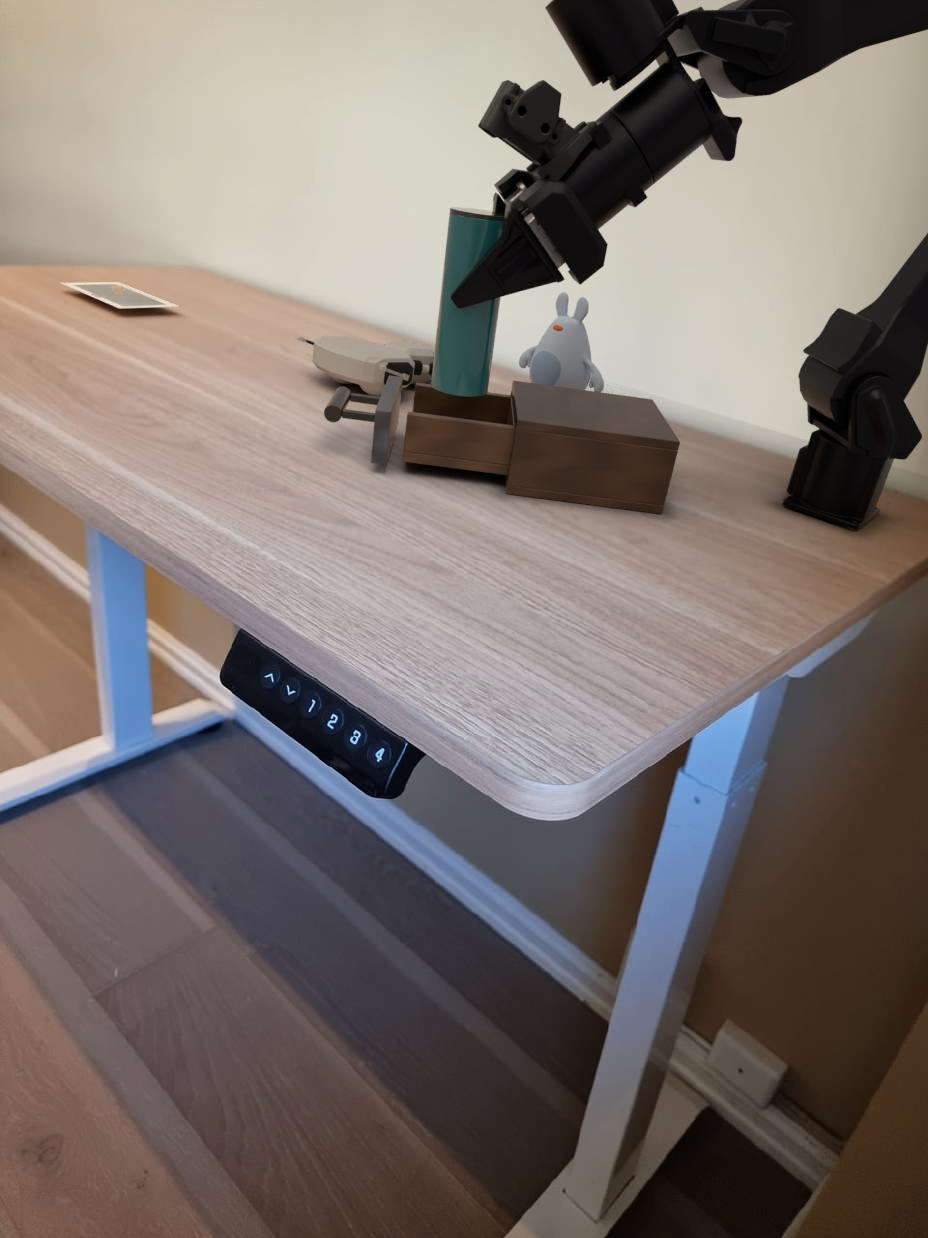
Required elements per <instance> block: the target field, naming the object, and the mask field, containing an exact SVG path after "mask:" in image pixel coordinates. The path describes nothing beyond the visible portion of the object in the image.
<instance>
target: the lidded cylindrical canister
mask: <svg viewBox="0 0 928 1238" xmlns="http://www.w3.org/2000/svg"><path fill="white" fill-rule="evenodd" d="M504 216H505V214H503V213H498V212H493V210H487V209H479V208H472V207H461V206H450V207H449V213H448V220H447V223H448V224H447V231H446V239H445V250H444V257H443V266H442V267H443V268H442V277H441V288H440V295H439V296H440V297H439V305H438V315H437V324H436V334H435V343H434V350H433V352H434V360H433V370H432V378H431V379H430V384H431V386H432V388H434V389H435V390H437V391H440V392H443V393H446V394H451V395H456V396H466V397H477V396H483V395H486V394H487V393H488V392H489V386H490V385H489V384H490V377H491V371H492V370H491V369H492V363H493V355H494V347H495V341H496V335H497V334H496V333H497V326H498V320H499V314H500V313H499V312H500V307H501V306H500V305H501V299H502V298H501V297H499V298H495V299H492V300H489V301H485V302H482V303H478V304H475V305H472V306H468V307H465V308H461V309H459V308H457V307H456V305H455V304H454V303H453V301H452V300H451V294H452V293H453V291H454V290H455V289H456V288H457V287H458V285H459V284H460V283H461V282H462V281H463V279H464V278H465V277H466V276H467V275H468V274H469V272H470V271H471V270H472V269H473V268H474V267H475V266H476V264H477V263H478V262H479V261H480V260H481V259H482V257H483V256H484V255H485V254H486V253H487V252H488V250H489V249H490V248H491V247H492V246H493V245H494V243H495V242H496V241H497V240H498V239H499V238H500V236H501V234H502V230H503V223H504Z"/></svg>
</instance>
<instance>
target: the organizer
mask: <svg viewBox="0 0 928 1238" xmlns="http://www.w3.org/2000/svg"><path fill="white" fill-rule="evenodd" d="M510 395H512V396H513V403H514V411H515V420H516V430H515V437H514V443H513V449H512V455H511V461H510V468H509V474H508V475H504V483H505V484H504V485H505V494H507V495H514V496H522V497H527V498H537V499H542V500H543V499H544V500H552V501H560V502H567V503H574V504H582V505H591V506H597V507H603V508H604V507H605V508H611V509H612V508H613V509H621V510H629V511H635V512H643V513H651V514H660V515H662V514H663V512H664V508H665V503H666V499H667V496H668V492H669V488H670V483H671V481H672V480H671V479H672V476H673V472H674V468H675V465H676V461H677V456H678V453H679V447H680V444H681V440H680V439H679V438H678V436H677V435H676V433H675V432H674V430H673V428H672V427H671V426H670V424H669V422H668V421H667V419H666V418H665V417H664V415H663V413H662V412H661V410H660V408H659V407H658V406H657V404H656V402H655V401H654V399H652V398H646V397H645V398H643V397H637V396H631V395H624V394H623V395H622V394H615V393H608V392H594V390H586V389H585V390H579V389H572V388H565V387H557V386H550V385H543V384H535V383H531V382H528V381H521V380H520V381H519V380H512V383H511V391H510Z"/></svg>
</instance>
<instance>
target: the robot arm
mask: <svg viewBox="0 0 928 1238" xmlns="http://www.w3.org/2000/svg"><path fill="white" fill-rule="evenodd" d="M544 9H545V10H546V12H547V14H548V15H549V17H550V19H551V20H552V22H553V24H554V25H555V27H556V29H557V31H558V32H559V34H560V36H561V37H562V39H563V41H564V42H565V44H566V45H567V47H568V49H569V51H570V52H571V54H572V56H573V57H574V59H575V61H576V63H577V64H578V65H579V68H580V69H581V71H582V72H583V74H584V76H585V77H586V80H587V81H588V83H589V84H590V86H591V87H595V86H597V85H599V84H603V85H604V84H605V83H607V82H609V83H608V84H609V86H610V88H611V90H612V91H613V92H616V91H618V90H619V89H621V88H623V87H624V86H626V85H627V84H628V83H630V82H631V81H632V80H634V79H635V78H636V77H637V76H639V75H640V74H641V73H642V72H643V71H644V70H646V69H647V68H648V67H649V66H651V64H652V63H654V62H655V61H656V63H657V65H658V67H657V68H656V69H654V70H653V71H652V72H651V73H650V74H648V75H647V76H646V77H645V78H643V80H641V81H640V82H639V83H638V84H637V85H635V87H633V88H632V89H631V90H630V91H629V92H627V93H626V94H625V95H624V96H623V97H622V98H621V99H619V100H618V101H617V102H615V104H613V105H612V106H611V107H610V108H609V109H608V110H607V111H605V112H604V113H603V114H602V115H600V116H599V117H598V118H597V119H596V120H592V121H585V120H584V121H581V122H580V123H578V124H577V125H575V126H574V127H572V126H571V125H570V124H569V123H567V120H566V119H565V118H563V117H560V109H561V104H562V103H561V102H562V93H561V92H560V91H559V90H558V89H556V88H555V87H554V86H553V85H551V84H550V83H549V82H547V81H546V80H544V79H541V80H539V81H537V82H535V83H534V84H533V85H531V86H530V87H528V88H527V89H525V90H524V89H523V88H522V87H521V85H520V84H518V83H517V82H513V81H511V80H509V79H507V80H503V81H501V83H500V85H499V87H498V88H497V90H496V92H495V94H494V96H493V98H492V99H491V101H490V103H489V105H488V107H487V108H486V111H485V112H484V114H483V116H482V118H481V119H480V121H479V122H478V125H477V126H478V128H479V129H480V130H481V131H483V132H484V133H486V135H488V136H489V137H491V138H493V139H496V138H497V139H499V140H500V141H502V142H503V143H505V144H506V145H507V146H509V147H510V148H511V149H513V150H514V151H516V152H517V153H518V154H519V155H521V156H522V157H524V158H525V159H526V160H528V161H530V162H531V163H530V164H529V165H528V166H526V167H525V169H526V170H525V169H519V168H518V169H517V168H512V169H511V170H509V171H508V172H506V174H504V175H503V177H501V178H500V179H499V180H498V181H497V182H495V183H494V184H493V186H494V187H495V189H496V191H497V192H498V193H497V192H494V194H493V197H492V211H493V212H498V213H503V214H505V216H504V223H503V230H502V234H501V236H500V238H499V239H498V240H497V241H496V242H495V243H494V245H493V246H492V247H491V248H490V249H489V250H488V252H487V253H486V254H485V255H484V256H483V257H482V259H481V260H480V261H479V262H478V263H477V264H476V266H475V267H474V268H473V269H472V270H471V271H470V272H469V274H468V275H467V276H466V277H465V278H464V279H463V281H462V282H461V283H460V284H459V285H458V287H457V288H456V289H455V290H454V291H453V293H452V294H451V300H452V301H453V303H454V304H455V305H456V307H457V308H459V309H461V308H465V307H468V306H472V305H475V304H478V303H482V302H485V301H489V300H492V299H495V298H499V297H505V296H509V295H513V294H516V293H519V292H524V291H528V290H532V289H535V288H538V287H542V286H545V285H550V284H554V283H557V284H559V283H562V282H563V281H565V277H564V275H563V274H562V272H561V271H560V268H561V267H562V266H563V265H566V266H567V268H568V269H569V270H567V272H568V274H569V275H570V277H571V278H572V280H573V281H575V282H576V283H577V284H578V285H582V284H584V282H586V281H587V280H588V279H590V277H592V276H593V275H594V274H596V273H597V272H598V271H599V270H601V269H602V268H603V267H605V260H606V255H607V250H608V245H609V244H608V242H607V241H606V239H605V238H604V236H603V235H602V233H601V232H600V229H601V228H602V227H603V226H604V225H606V224H607V223H608V222H610V220H612V219H613V218H614V217H615V216H617V215H618V214H620V212H621V211H623V210H624V209H625V208H626V207H628V206H629V207H633V208H637V207H638V206H639V205H641V204H642V203H643V202H644V201H646V200H647V199H648V198H649V197H648V196H647V194H646V191H648V190H649V189H650V188H651V187H652V186H653V185H655V184H656V183H657V182H658V181H660V180H661V179H662V178H663V177H665V176H666V175H667V174H668V173H669V172H671V171H672V170H673V169H674V168H676V167H677V166H678V165H679V164H680V163H681V162H683V161H684V160H685V159H687V158H688V157H690V155H691V154H693V153H695V151H697V150H698V149H699V148H700V147H703V148H704V150H705V151H706V153H707V155H708V157H709V159H710V160H714V161H722V162H731V161H733V160H735V159H734V158H735V156H736V149H737V143H738V142H737V141H738V135H739V131H740V128H741V126H742V124H743V119H742V117H741V116H730V115H729V116H728V115H726V114H725V113H724V112H723V110H722V108H721V106H720V104H719V102H718V100H717V99H716V97H715V95H716V96H717V97H719V98H723V99H727V100H729V99H743V98H753V97H763V96H765V97H766V96H772V95H774V94H776V93H779V92H781V91H783V90H785V89H788V88H789V87H791V86H793V85H795V84H797V83H800V82H801V81H804V80H805V79H808V78H810V77H811V76H814V75H815V74H817V73H820V72H821V71H823V70H825V69H826V68H828V67H830V66H831V65H833V64H835V63H836V62H837V61H839V60H841V59H843V58H845V57H847V56H849V55H851V54H853V53H855V52H857V51H859V50H861V49H864V48H869V47H871V46H872V47H873V46H876V45H879V44H882V43H886V42H889V41H893V40H897V39H901V38H904V37H907V36H909V35H914V34H917V33H920V32H924V31H928V0H734V1H732V2H730V3H728V4H725V5H723V6H721V7H719V8H718V9H704V8H703V7H702V6H699V7H695V8H694V9H691V10H688V11H685V12H683V13H680V11H679V9H678V8H677V5H676V3H675V1H674V0H551V1H549V3H548V4H547V5H546V6H545V7H544ZM684 65H685V66H687V67H689V68H692V69H694V70H697V71H698V73H699V77H700V78H697V79H695V80H693V79H692V78H691V76H690V75H689V73H688V72H687V70H686V69H685V67H684ZM714 94H715V95H714ZM927 350H928V232H927V233H926V234H925V236H924V237H923V238H922V240H921V241H920V242H919V243H918V245H917V246H916V247H915V249H914V250H913V252H912V253H911V254H910V255H909V256H908V258H907V259H906V260H905V262H904V263H903V265H902V266H901V267H900V268H899V270H898V271H897V272H896V273H895V275H894V276H893V278H892V279H891V280H890V282H889V283H888V285H887V286H886V287H885V288H884V290H883V291H882V292H881V293H880V295H879V296H878V297H877V298H876V299H875V300H874V301H873V302H871V303H870V304H869V305H866V307H863V308H862V309H861V310H859V311H858V312H856V313H854V312H852V311H848V310H846V309H844V308H841V307H838V308H836V309H835V311H833V313H832V314H831V315H830V316H829V318H828V320H827V321H826V323H825V325H824V327H823V329H822V330H821V332H820V334H819V335H818V336H817V337H816V338H815V339H814V341H813V342H811V343H810V344H809V345H807V346H806V347H805V348H803V350H802V352H803V353H804V354H805V355H807V357H806V358H805V360H804V361H803V363H802V364H801V367H800V369H799V372H798V375H797V377H798V379H799V380H798V382H799V392H800V394H801V397H802V399H803V401H804V402H805V403H806V406H807V407H806V409H807V422H808V424H810V425H812V426H814V427H816V428H818V429H816V430H814V431H811V434H810V437H809V440H808V443H807V444H806V445H804V446H802V447H799V450H798V452H797V456H796V459H795V462H794V466H793V469H792V471H791V474H790V478H789V480H788V484H787V487H786V490H785V491H786V493H787V495H788V496H786V497H784V498H783V500H782V505H783V506H784V507H787V508H790V509H793V510H795V511H799V512H802V513H805V514H808V515H811V516H814V517H816V518H819V519H822V520H824V521H825V520H826V521H828V522H832V523H834V524H837V525H840V526H843V527H845V528H848V529H852V530H859V529H861V528H862V527H863V526H865V525H866V524H868V523H869V522H870V521H872V520H873V519H874V518H876V517H877V516H878V515H879V514H880V511H881V508H879V507H877V505H878V502H879V500H880V498H881V495H882V492H883V490H884V487H885V484H886V482H887V480H888V476H889V474H890V471H891V468H892V466H893V463H894V460H904V461H905V460H907V459H908V458H909V457H910V455H911V454H912V452H913V451H914V450H915V448H916V447H917V446H918V445H919V444H920V442H921V441H922V438H923V433H922V432H921V430H920V428H919V426H918V425H917V423H916V421H915V419H914V417H913V415H912V413H911V412H910V409H909V408H908V406H907V404H906V402H905V400H906V398H907V397H908V395H909V393H910V392H911V390H912V389H913V387H914V385H915V384H916V382H917V380H918V378H919V377H920V376H921V373H922V369H923V365H924V362H925V359H926V354H927Z"/></svg>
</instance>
